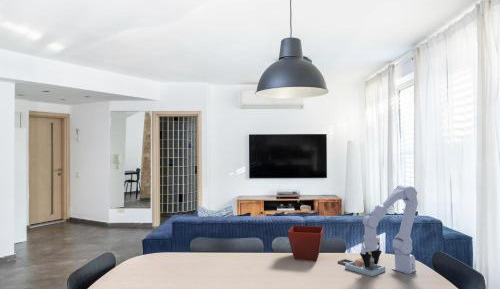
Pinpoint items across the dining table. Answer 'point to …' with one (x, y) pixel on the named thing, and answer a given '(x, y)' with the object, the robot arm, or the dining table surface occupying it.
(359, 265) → the ball
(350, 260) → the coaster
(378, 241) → the coffee cup
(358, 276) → the dining table surface
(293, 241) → the plant pot
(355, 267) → the tray
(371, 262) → the shaker
